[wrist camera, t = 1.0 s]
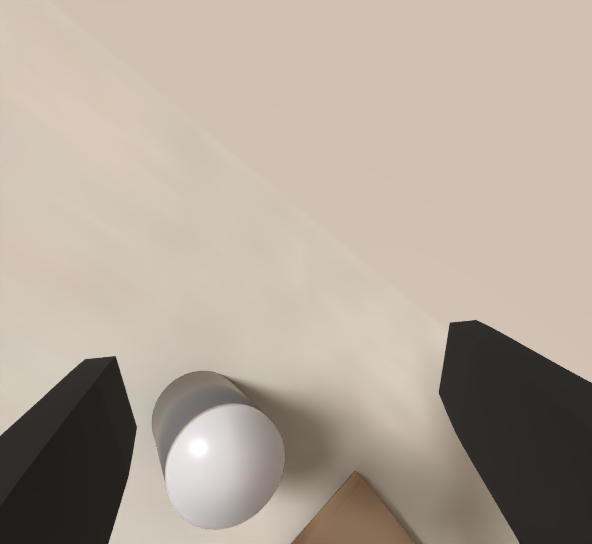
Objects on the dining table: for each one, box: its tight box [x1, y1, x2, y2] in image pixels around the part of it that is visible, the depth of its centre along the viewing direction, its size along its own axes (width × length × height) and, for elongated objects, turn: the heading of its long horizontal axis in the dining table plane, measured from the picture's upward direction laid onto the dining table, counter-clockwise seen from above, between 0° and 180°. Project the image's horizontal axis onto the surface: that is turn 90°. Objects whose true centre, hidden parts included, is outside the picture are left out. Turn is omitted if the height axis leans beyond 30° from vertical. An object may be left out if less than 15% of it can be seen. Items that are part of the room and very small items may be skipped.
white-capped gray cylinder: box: [152, 371, 285, 530], centre depth 19 cm, size 5×5×6 cm
